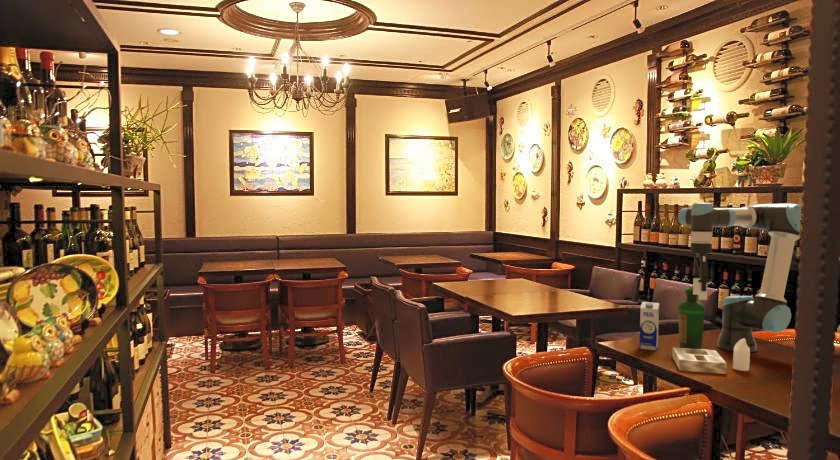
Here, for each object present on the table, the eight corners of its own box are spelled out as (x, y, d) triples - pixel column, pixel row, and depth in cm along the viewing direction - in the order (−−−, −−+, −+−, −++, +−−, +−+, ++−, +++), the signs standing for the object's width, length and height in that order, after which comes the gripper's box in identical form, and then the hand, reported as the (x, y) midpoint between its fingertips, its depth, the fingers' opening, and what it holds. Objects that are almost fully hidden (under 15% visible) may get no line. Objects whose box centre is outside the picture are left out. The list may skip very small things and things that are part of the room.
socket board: (715, 360, 240) (715, 350, 240) (726, 374, 220) (726, 363, 220) (672, 356, 244) (672, 347, 244) (679, 370, 224) (679, 359, 224)
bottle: (682, 346, 263) (684, 283, 262) (707, 350, 256) (709, 285, 255) (672, 350, 256) (674, 285, 255) (698, 354, 248) (700, 288, 247)
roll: (730, 336, 229) (743, 336, 230) (729, 367, 229) (742, 366, 230) (740, 339, 223) (754, 339, 224) (740, 371, 223) (753, 370, 224)
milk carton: (658, 347, 260) (659, 302, 259) (656, 351, 254) (657, 304, 253) (641, 345, 263) (642, 301, 262) (639, 349, 257) (640, 303, 256)
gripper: (685, 240, 243) (684, 292, 244) (696, 244, 219) (694, 301, 220) (705, 241, 241) (704, 292, 242) (718, 244, 217) (716, 302, 218)
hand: (699, 297), depth 231 cm, fingers open, 13 cm apart
